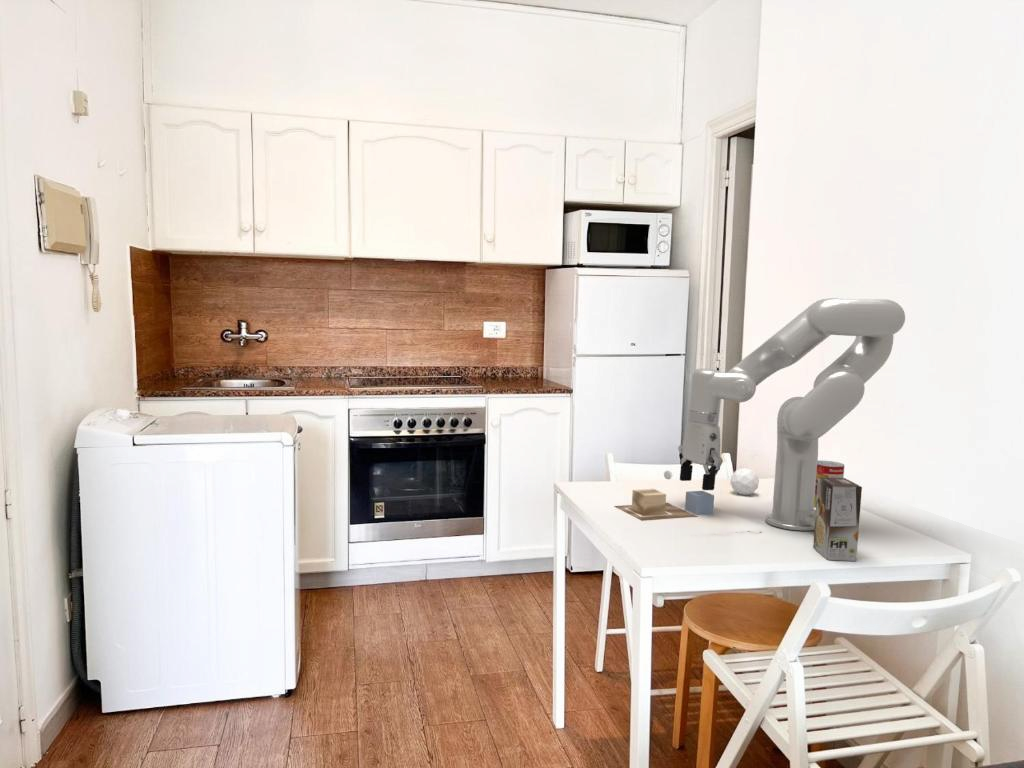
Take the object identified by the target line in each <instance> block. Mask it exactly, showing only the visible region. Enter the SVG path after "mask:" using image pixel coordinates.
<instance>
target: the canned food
mask: <svg viewBox="0 0 1024 768" xmlns="http://www.w3.org/2000/svg"><path fill="white" fill-rule="evenodd" d="M844 475H845V463H842V462H839V461H832V460H822V459H821V460H820V459H819V460H818V462H817V472H816V486H815V499H814V508H816V498H817V483H818V477H824V478H826V477H832V478H845V477H844Z"/></svg>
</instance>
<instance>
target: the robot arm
mask: <svg viewBox="0 0 1024 768" xmlns="http://www.w3.org/2000/svg"><path fill="white" fill-rule="evenodd" d="M905 321H906V312H905V310H904V309H903V307H902V306H901V305H900V304H899V303H898V302H896V301H894V300H891V299H885V298H884V299H883V298H881V299H878V298H877V299H875V298H874V299H871V298H870V299H865V298H864V299H863V298H861V299H860V298H859V299H858V298H857V299H856V298H855V299H854V298H838V297H836V298H834V297H833V298H832V297H831V298H830V297H829V298H823V299H819V300H816V301H815V302H813V303H812V304H810V305H809V306H808V307H807V308H805V309H804V310H803V311H802V312H800V313H799V314H797V315H796V317H794V318H793V319H792V320H790V321H789V322H788V323H786V325H784V326H783V327H782V328H781V329H780V330H778V331H777V332H776V333H774V334H773V335H772V336H771V337H769V338H768V339H767V340H765V341H764V342H763V343H762V344H761V345H760V346H759V347H757V348H756V349H754V350H753V351H752V352H750V353H749V354H748V355H747V356H745V357H744V358H743V359H742V360H741V361H739V362H738V363H737V364H735V365H734V366H733V367H732V368H731V369H729V370H728V371H727V372H726V371H725V372H722V371H721V370H718V369H712V368H696V369H694V370H693V372H692V376H691V383H690V384H691V385H690V392H689V393H690V394H689V405H688V414H687V423H686V426H685V431H684V436H683V440H682V442H683V443H682V444H679V446H678V448H677V449H678V457H679V465H680V473H679V481H681V482H684V481H685V482H687V481H688V482H689V481H692V477H693V476H692V475H693V466H694V465H692V464H693V463H695V464H697V465H701V466H702V467H703V470H704V473H703V476H702V485H701V488H702V491H714V490H715V485H716V476H717V475H718V472H719V471H720V470H721V466H722V464H723V462H724V460H723V458H722V457H721V427H720V426H719V421H720V411H721V402H722V400H725V401H729V402H733V403H745V402H748V401H749V400H751V399H752V398H753V397H754V395H755V393H756V390H757V386H759V385H760V384H761V383H762V382H764V381H765V380H766V379H767V378H769V377H770V376H772V375H773V374H775V373H777V372H778V371H781V370H782V369H786V368H788V367H790V366H792V365H794V364H796V363H797V362H799V361H800V360H801V359H802V358H804V357H805V356H806V355H808V354H809V353H810V352H812V350H814V349H815V348H816V347H817V346H819V345H820V344H821V343H823V342H824V341H825V340H826V339H827V338H830V336H844V337H845V336H847V337H849V336H850V337H855V339H854V340H853V342H852V344H851V345H850V346H849V347H848V348H847V349H846V350H845V351H844V352H843V353H842V354H841V355H840V356H838V357H837V358H836V359H834V361H832V363H830V364H829V365H828V366H827V367H826V368H825V369H823V370H822V371H820V372H819V374H818V375H816V378H815V379H814V381H813V386H812V387H813V388H811V390H810V391H808V393H806V394H805V395H804V396H794V397H790V398H788V399H786V400H785V401H784V402H783V403H782V404H781V405H780V407H779V410H778V412H777V418H776V419H777V420H776V457H775V458H776V459H775V470H774V484H773V495H772V496H773V497H772V498H773V499H772V512H771V513H769V514H766V515H765V518H764V519H765V520H764V521H765V522H766V523H767V524H769V525H771V526H773V527H776V528H780V529H783V530H784V529H785V530H790V531H802V532H803V531H805V532H808V531H814V528H815V514H816V509H815V507H814V499H815V486H816V472H817V462H818V459H819V458H818V457H819V438H822V437H823V436H824V435H826V433H828V432H829V431H830V430H831V429H832V428H833V427H835V426H836V425H837V424H839V423H840V421H842V420H843V419H844V418H845V417H846V416H848V415H849V414H850V413H851V412H852V411H853V410H854V409H856V408H857V406H858V405H859V404H860V402H861V401H862V400H863V397H864V395H865V383H867V382H868V381H869V380H870V379H871V378H872V377H873V376H874V375H875V374H876V373H877V372H878V371H879V370H881V368H882V367H883V366H884V365H885V364H886V362H887V361H888V359H889V358H890V355H891V353H892V349H893V345H894V337H895V336H894V335H895V334H897V333H898V332H899V331H900V330H901V329H902V328H903V326H904V324H905V323H906V322H905Z"/></svg>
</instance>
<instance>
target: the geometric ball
mask: <svg viewBox="0 0 1024 768" xmlns="http://www.w3.org/2000/svg"><path fill="white" fill-rule="evenodd" d="M730 477H731V478H730V486H731V488H732V489H733V491H735V493H737V494H738V493H739V494H738V495H742V496H746V495H747V496H749V495H752V494H753V493H754V492H756V490H757V489H758V488H759V482H760V480H759V478H758V475H757V474H756V473H755V472H754V470H752V469H751V468H745V467H742V468H738V469H736V470H735V471H734V472H733V473H732V474H731V475H730Z"/></svg>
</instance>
